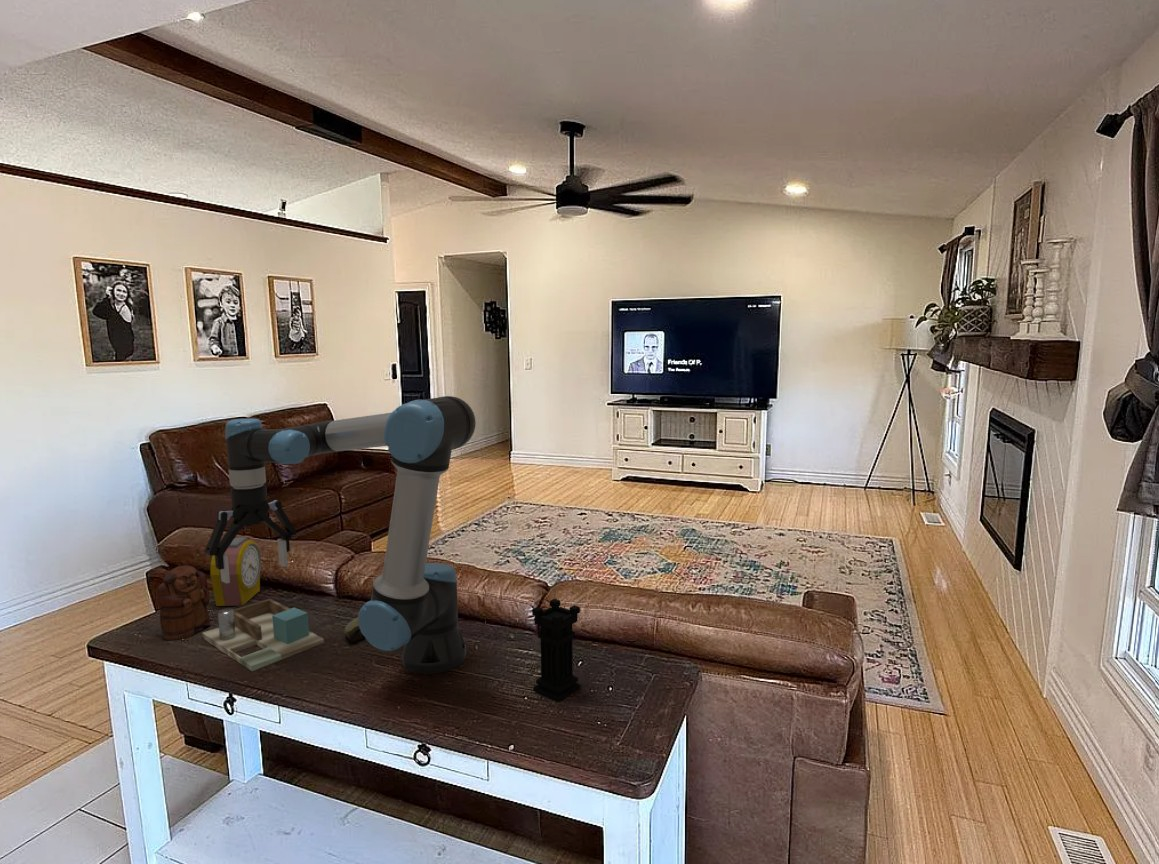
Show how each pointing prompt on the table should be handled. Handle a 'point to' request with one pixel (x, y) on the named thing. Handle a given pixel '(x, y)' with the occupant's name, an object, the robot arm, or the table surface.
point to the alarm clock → (238, 574)
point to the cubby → (253, 611)
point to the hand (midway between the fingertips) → (255, 573)
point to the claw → (354, 631)
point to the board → (261, 644)
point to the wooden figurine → (183, 603)
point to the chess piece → (556, 650)
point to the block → (290, 625)
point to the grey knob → (226, 624)
